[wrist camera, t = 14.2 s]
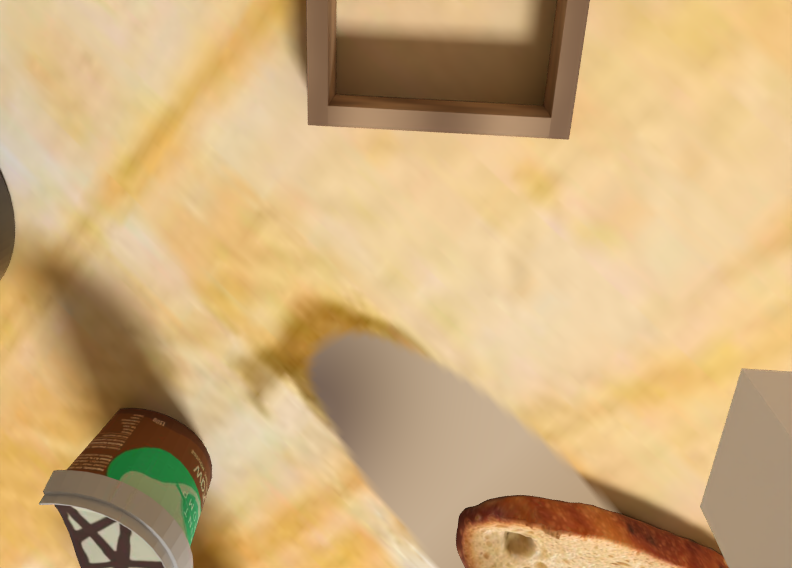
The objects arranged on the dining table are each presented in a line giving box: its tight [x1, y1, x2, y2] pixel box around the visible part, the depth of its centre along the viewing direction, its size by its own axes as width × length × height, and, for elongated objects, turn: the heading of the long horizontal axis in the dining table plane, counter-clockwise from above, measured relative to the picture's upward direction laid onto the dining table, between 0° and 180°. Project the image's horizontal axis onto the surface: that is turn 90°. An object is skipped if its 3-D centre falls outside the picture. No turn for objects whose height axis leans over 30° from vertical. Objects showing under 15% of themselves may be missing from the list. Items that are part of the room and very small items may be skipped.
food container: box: [39, 408, 212, 568], centre depth 44 cm, size 12×6×10 cm, turn 9°
